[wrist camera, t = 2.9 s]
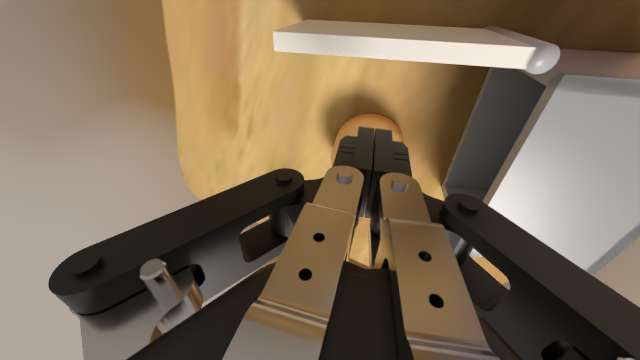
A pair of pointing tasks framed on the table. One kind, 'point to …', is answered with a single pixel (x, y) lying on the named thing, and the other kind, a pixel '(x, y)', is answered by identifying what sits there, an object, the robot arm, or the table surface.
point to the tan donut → (366, 121)
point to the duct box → (559, 153)
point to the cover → (419, 44)
